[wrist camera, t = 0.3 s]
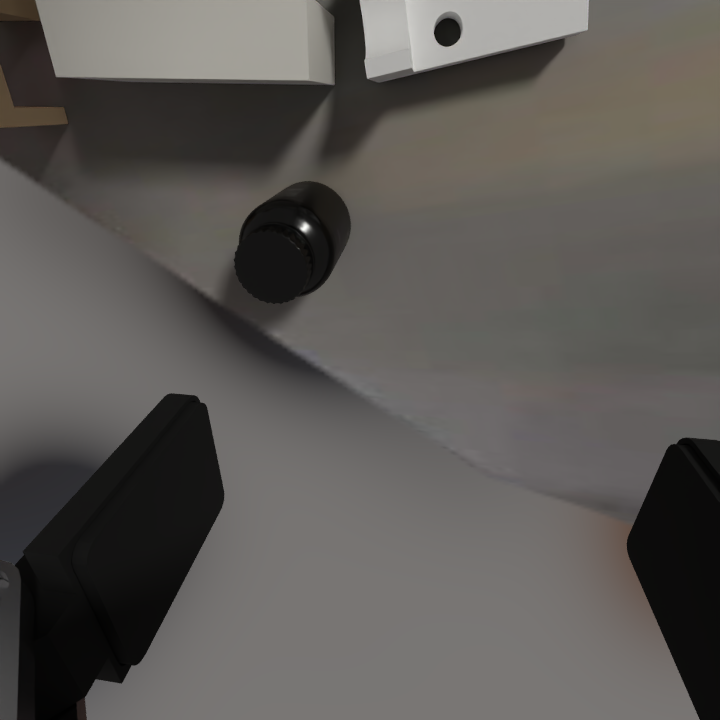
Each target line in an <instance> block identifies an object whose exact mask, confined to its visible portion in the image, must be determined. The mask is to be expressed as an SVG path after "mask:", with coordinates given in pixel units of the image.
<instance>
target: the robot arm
mask: <svg viewBox="0 0 720 720" xmlns="http://www.w3.org/2000/svg"><path fill="white" fill-rule="evenodd" d="M223 501H224V489H223V484H222V479H221V475H220V469H219V464H218V460H217V454H216V449H215V445H214V440H213V435H212V430H211V425H210V420H209V415H208V410H207V407H206V405H205V404H204V403H200V400H199V399H198V397H197V396H194V395H184V394H168V395H166V396H165V397H164V398H163V399H162V400H161V401H160V402H159V403H158V404H157V406H156V407H155V408H154V409H153V410H152V411H151V412H150V413H149V414H148V415H147V417H146V418H145V419H144V420H143V421H142V422H141V423H140V424H139V425H138V426H137V427H136V428H135V430H134V431H133V432H132V433H131V434H130V435H129V436H128V437H127V438H126V439H125V440H124V442H123V443H122V444H121V445H120V446H119V447H118V448H117V449H116V450H115V451H114V453H113V454H112V455H111V456H110V457H109V458H108V459H107V460H106V461H105V462H104V463H103V465H102V466H101V467H100V468H99V469H98V470H97V471H96V472H95V473H94V474H93V475H92V477H91V478H90V479H89V480H88V481H87V482H86V483H85V484H84V486H82V487H81V489H80V490H79V491H78V492H77V493H76V494H75V495H74V496H73V497H72V498H71V499H70V501H69V502H68V503H67V504H66V505H65V506H64V507H63V508H62V509H61V510H60V511H59V512H58V514H57V515H56V516H55V517H54V518H53V519H52V520H51V521H50V522H49V523H48V525H47V526H46V527H45V528H44V529H43V530H42V531H41V532H40V533H39V535H38V536H37V537H36V538H35V539H34V540H33V541H32V542H31V543H30V544H29V545H28V546H27V547H26V549H25V550H24V551H23V553H24V556H23V557H22V558H21V559H20V560H19V561H18V562H17V563H16V565H15V566H14V565H13V564H12V563H10V562H6V561H2V560H0V720H87V717H86V706H85V696H86V695H87V693H88V691H89V689H90V688H91V686H92V684H93V683H94V681H95V679H99V680H104V681H110V682H117V683H122V682H123V680H124V678H125V677H126V675H127V673H128V671H129V669H130V667H131V665H137V664H138V663H140V661H141V660H142V659H143V657H144V655H145V654H146V652H147V650H148V648H149V647H150V645H151V643H152V641H153V639H154V637H155V635H156V633H157V631H158V629H159V627H160V625H161V624H162V622H163V620H164V618H165V616H166V614H167V612H168V610H169V608H170V606H171V604H172V602H173V601H174V598H175V597H176V595H177V593H178V591H179V589H180V587H181V585H182V583H183V581H184V579H185V577H186V576H187V574H188V572H189V570H190V568H191V566H192V564H193V562H194V560H195V558H196V556H197V554H198V553H199V551H200V549H201V547H202V545H203V543H204V541H205V539H206V537H207V535H208V533H209V532H210V530H211V527H212V526H213V524H214V522H215V520H216V518H217V516H218V514H219V512H220V510H221V508H222V505H223ZM627 551H628V555H629V558H630V560H631V563H632V565H633V567H634V570H635V572H636V574H637V576H638V579H639V581H640V583H641V586H642V588H643V590H644V592H645V595H646V597H647V599H648V602H649V604H650V606H651V609H652V611H653V613H654V615H655V618H656V620H657V622H658V625H659V627H660V629H661V632H662V634H663V636H664V638H665V641H666V643H667V645H668V648H669V650H670V652H671V655H672V657H673V659H674V662H675V664H676V666H677V668H678V670H679V673H680V675H681V677H682V680H683V682H684V684H685V687H686V689H687V691H688V693H689V696H690V698H691V700H692V703H693V705H694V707H695V710H696V712H697V714H698V717H699V719H700V720H720V441H717V440H708V439H697V438H682V439H681V440H679V441H678V443H677V444H673V445H670V446H669V447H668V449H667V450H666V453H665V455H664V457H663V459H662V462H661V464H660V466H659V468H658V471H657V473H656V475H655V477H654V480H653V482H652V484H651V486H650V489H649V491H648V493H647V495H646V498H645V500H644V502H643V504H642V507H641V509H640V511H639V513H638V516H637V518H636V520H635V522H634V525H633V527H632V529H631V531H630V534H629V536H628V539H627Z"/></svg>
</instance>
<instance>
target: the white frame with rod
mask: <svg viewBox="0 0 720 720" xmlns="http://www.w3.org/2000/svg"><path fill="white" fill-rule="evenodd" d="M35 1H36V5H37V9H38V12H39V16H40V20H41V23H42V27H43V31H44V34H45V38H46V42H47V45H48V49H49V53H50V57H51V60H52V64H53V68H54V71H55V75H56V77H65V78H79V79H94V80H108V81H123V82H159V83H225V84H290V85H335V34H334V16H333V15H332V14H330V13H329V12H328V11H327V10H326V9H325V8H324V7H322V6H321V5H320V4H319V3H318V2H317V1H316V0H35Z"/></svg>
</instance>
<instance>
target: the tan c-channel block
mask: <svg viewBox="0 0 720 720" xmlns="http://www.w3.org/2000/svg"><path fill="white" fill-rule="evenodd" d="M0 21H40V17H39V14H38V10H37V6H36V3H35V0H0ZM60 124H68V120H67V117H66V113H65V109H64V107H33V106H14V105H13V102H12V99H11V96H10V93H9V89H8V86H7V83H6V80H5V77H4V74H3V71H2V68H1V65H0V128H8V127H25V126H42V125H60Z"/></svg>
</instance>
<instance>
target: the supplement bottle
mask: <svg viewBox="0 0 720 720" xmlns="http://www.w3.org/2000/svg"><path fill="white" fill-rule="evenodd" d="M350 230H351V221H350V216H349V212H348V209H347V207H346V205H345V203H344V201H343V200H342V199H341V197H340V196H339V195H338V194H337V193H336V192H335V191H334V190H332V189H331V188H329V187H328V186H326V185H323V184H321V183H318V182H312V181H304V182H299V183H295V184H293V185H291V186H289V187H287V188H285V189H284V190H282V191H281V192H279V193H278V194H276V195H275V196H273V197H272V198H270V199H269V200H267V201H266V202H264V203H263V204H261V205H260V206H258V207H257V208H256V209H254V210H253V211H252V212H251V213H250V214H249V215H248V217H247V218H246V220H245V221H244V223H243V225H242V228H241V231H240V235H239V245H238V248H237V251H236V252H235V259H234V262H235V266H234V267H235V270H236V275H237V276H238V279H239V281H240V282H241V283H242V286H243V287H244V288H245V289H246V290H247V292H248V293H250V294H252V295H253V297H255V298H258V299H259V300H260V301H265V302H267V303H270V302H271V303H273V304H275V303H280V304H281V303H283V302H288V301H290V300H293V299H295V297H300V296H304V295H307V294H310V293H312V292H314V291H315V290H317V289H318V288H320V287H321V286H322V285H323V284H324V283H325V281H326V280H327V279H328V277H329V276H330V274H331V273H332V271H333V269H334V267H335V265H336V263H337V261H338V259H339V258H340V256H341V254H342V252H343V250H344V248H345V246H346V244H347V242H348V239H349V235H350Z"/></svg>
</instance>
